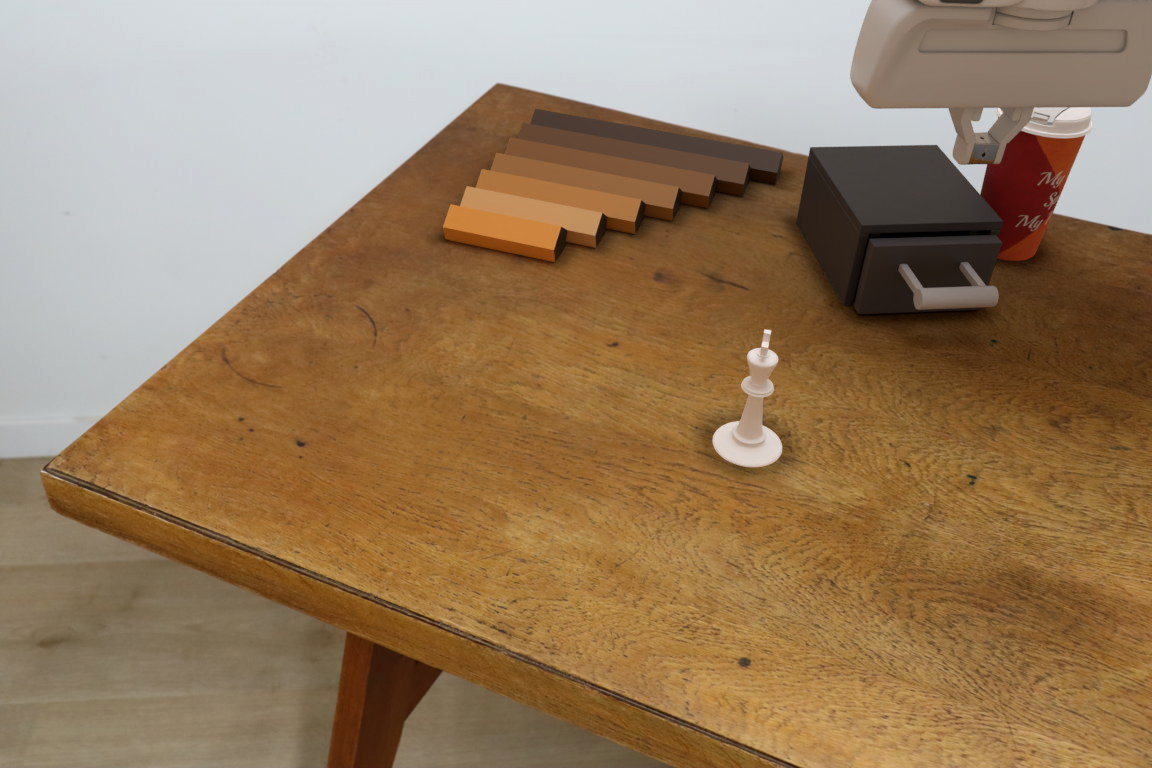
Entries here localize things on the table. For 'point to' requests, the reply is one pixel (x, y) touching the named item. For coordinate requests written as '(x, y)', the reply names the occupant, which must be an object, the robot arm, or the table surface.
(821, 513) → the table surface
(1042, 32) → the robot arm
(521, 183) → the pan flute
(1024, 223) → the paper cup
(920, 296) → the drawer
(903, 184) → the small storage cabinet
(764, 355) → the chess piece
